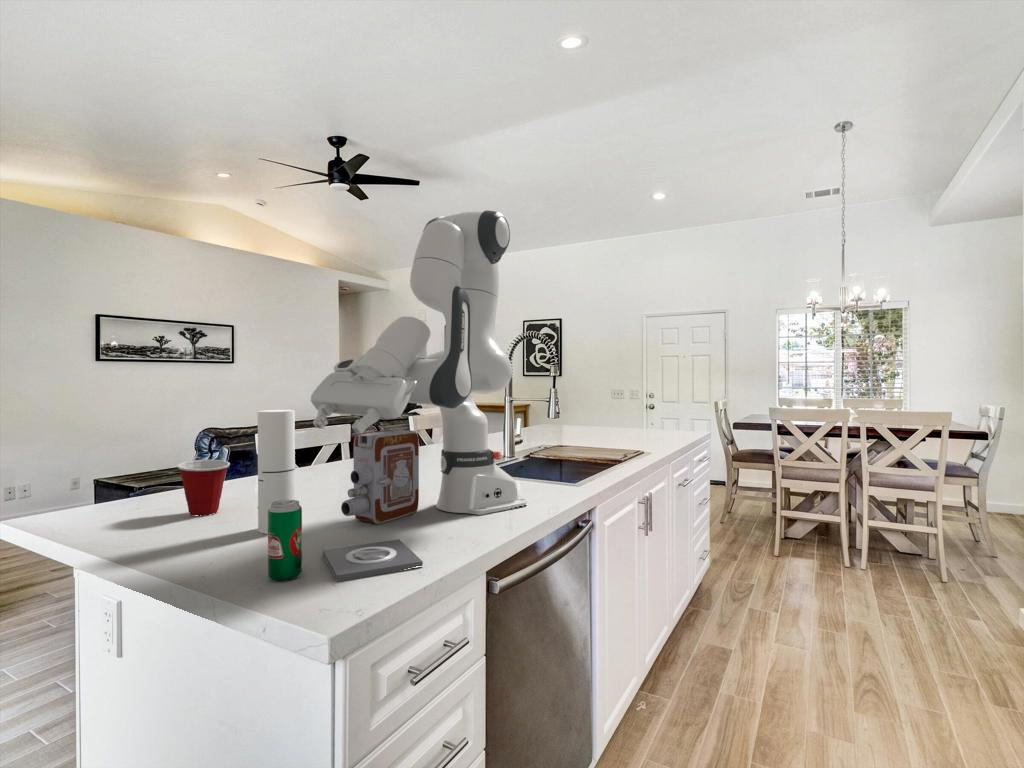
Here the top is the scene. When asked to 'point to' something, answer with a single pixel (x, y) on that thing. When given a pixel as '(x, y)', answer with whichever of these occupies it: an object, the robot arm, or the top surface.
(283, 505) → the soda can
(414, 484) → the cine camera
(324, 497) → the top surface
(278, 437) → the cylindrical container
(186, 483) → the plastic cup
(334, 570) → the mount plate
